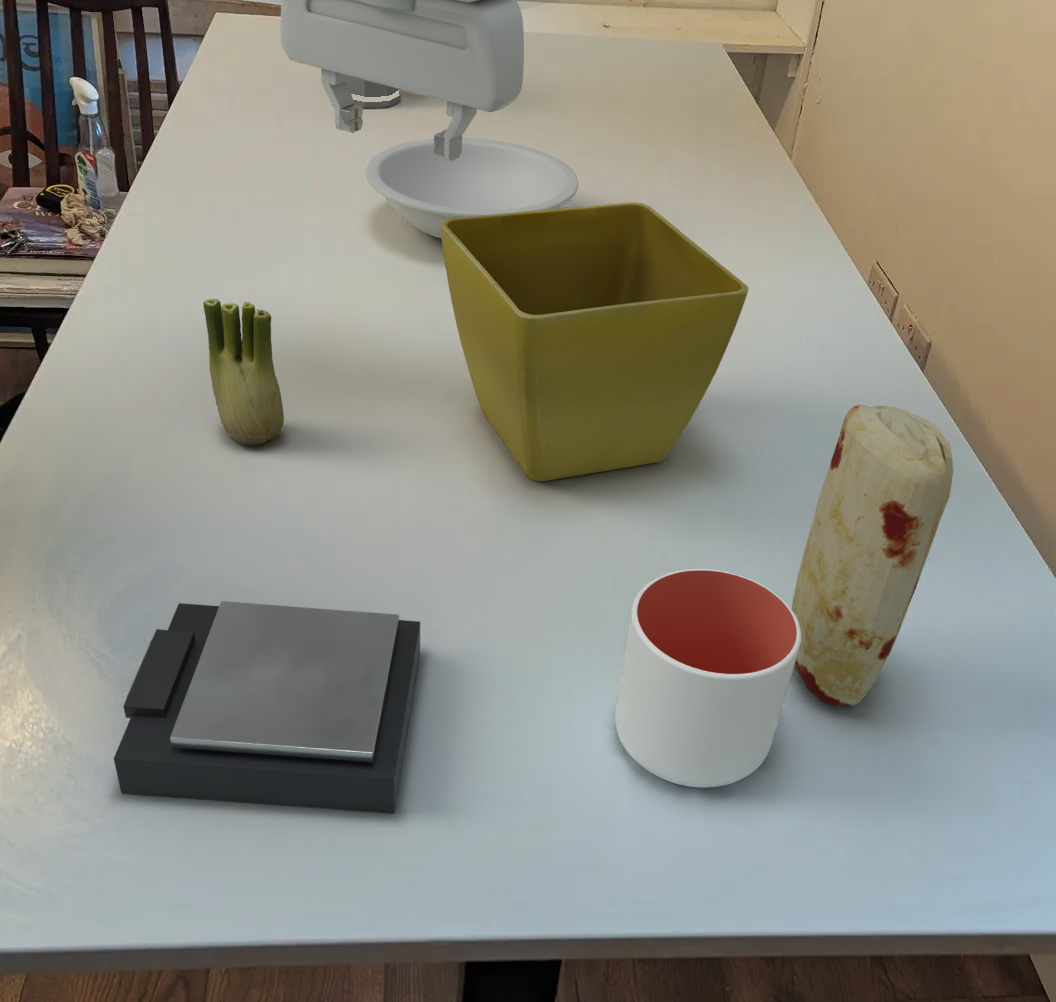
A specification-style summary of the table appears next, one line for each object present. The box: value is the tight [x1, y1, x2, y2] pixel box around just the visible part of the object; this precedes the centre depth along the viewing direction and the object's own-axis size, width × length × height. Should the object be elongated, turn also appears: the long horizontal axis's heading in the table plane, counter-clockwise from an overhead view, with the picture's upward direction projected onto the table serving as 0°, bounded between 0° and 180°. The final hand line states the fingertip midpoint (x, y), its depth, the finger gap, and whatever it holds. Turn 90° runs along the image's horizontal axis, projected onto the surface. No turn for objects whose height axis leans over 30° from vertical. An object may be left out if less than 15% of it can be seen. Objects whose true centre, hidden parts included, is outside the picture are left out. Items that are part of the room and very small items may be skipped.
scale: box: [113, 602, 421, 814], centre depth 73 cm, size 16×14×4 cm
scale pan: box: [170, 600, 400, 762], centre depth 72 cm, size 12×12×1 cm
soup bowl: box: [365, 137, 579, 240], centre depth 135 cm, size 24×24×7 cm
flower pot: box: [440, 202, 749, 482], centre depth 98 cm, size 19×19×17 cm
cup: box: [614, 568, 801, 788], centre depth 73 cm, size 10×10×10 cm
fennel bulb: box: [202, 298, 285, 446], centre depth 96 cm, size 6×5×12 cm
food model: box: [791, 403, 954, 707], centre depth 75 cm, size 10×7×20 cm
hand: (397, 143), depth 94 cm, fingers open, 8 cm apart
